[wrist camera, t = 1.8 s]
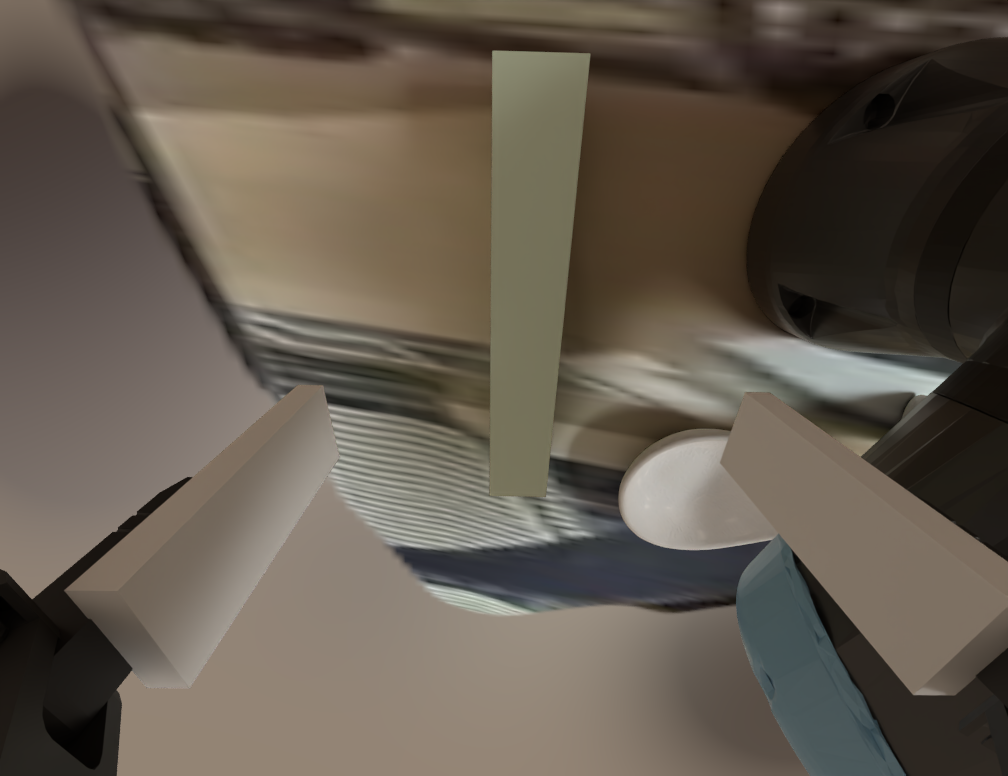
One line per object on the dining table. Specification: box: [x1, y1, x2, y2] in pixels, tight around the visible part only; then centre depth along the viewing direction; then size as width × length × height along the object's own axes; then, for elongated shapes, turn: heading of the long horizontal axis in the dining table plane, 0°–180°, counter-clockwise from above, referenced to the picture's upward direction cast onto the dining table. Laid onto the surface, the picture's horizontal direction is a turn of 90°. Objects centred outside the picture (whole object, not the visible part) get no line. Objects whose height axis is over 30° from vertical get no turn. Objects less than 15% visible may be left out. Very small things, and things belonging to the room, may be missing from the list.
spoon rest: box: [618, 395, 927, 550], centre depth 26 cm, size 24×12×7 cm, turn 108°
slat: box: [489, 51, 590, 497], centre depth 22 cm, size 4×24×5 cm, turn 179°
